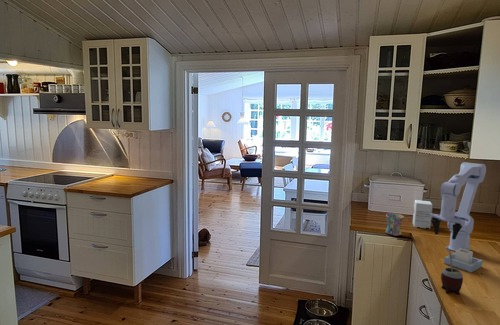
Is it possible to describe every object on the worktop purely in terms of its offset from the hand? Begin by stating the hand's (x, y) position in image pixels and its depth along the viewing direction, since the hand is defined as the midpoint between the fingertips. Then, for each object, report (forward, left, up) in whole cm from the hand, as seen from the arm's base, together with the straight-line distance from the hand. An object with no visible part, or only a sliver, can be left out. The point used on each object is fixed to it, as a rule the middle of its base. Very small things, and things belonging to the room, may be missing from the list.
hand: (445, 236), depth 160 cm
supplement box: (-38, -30, -10) cm, 50 cm away
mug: (-8, -30, -10) cm, 33 cm away
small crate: (+3, +10, -9) cm, 14 cm away
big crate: (+2, +10, -10) cm, 14 cm away
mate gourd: (+32, +17, -10) cm, 37 cm away
